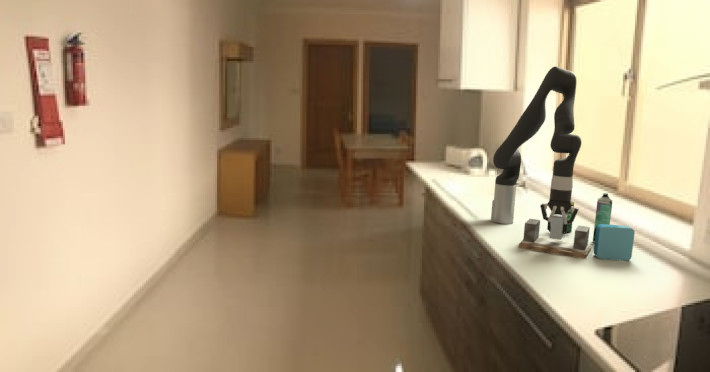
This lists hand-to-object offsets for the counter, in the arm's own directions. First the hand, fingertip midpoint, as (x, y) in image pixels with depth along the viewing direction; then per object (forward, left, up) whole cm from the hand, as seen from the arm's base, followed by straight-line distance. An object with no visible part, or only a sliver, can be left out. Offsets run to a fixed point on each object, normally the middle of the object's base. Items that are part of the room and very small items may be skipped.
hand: (556, 232), depth 219 cm
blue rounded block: (+20, 0, -7) cm, 21 cm away
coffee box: (-2, +30, -7) cm, 31 cm away
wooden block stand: (0, 0, -6) cm, 6 cm away
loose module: (0, 0, -2) cm, 2 cm away
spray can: (+14, +21, -7) cm, 26 cm away
